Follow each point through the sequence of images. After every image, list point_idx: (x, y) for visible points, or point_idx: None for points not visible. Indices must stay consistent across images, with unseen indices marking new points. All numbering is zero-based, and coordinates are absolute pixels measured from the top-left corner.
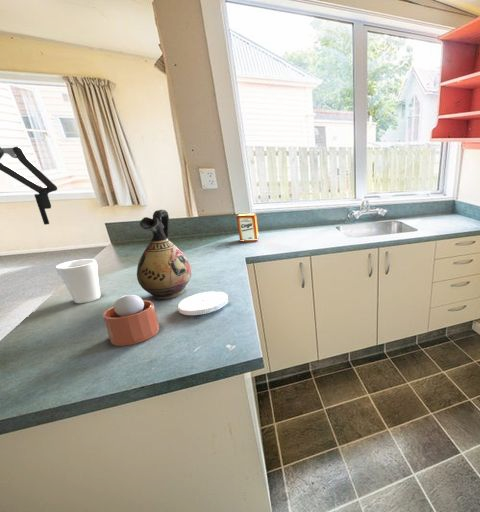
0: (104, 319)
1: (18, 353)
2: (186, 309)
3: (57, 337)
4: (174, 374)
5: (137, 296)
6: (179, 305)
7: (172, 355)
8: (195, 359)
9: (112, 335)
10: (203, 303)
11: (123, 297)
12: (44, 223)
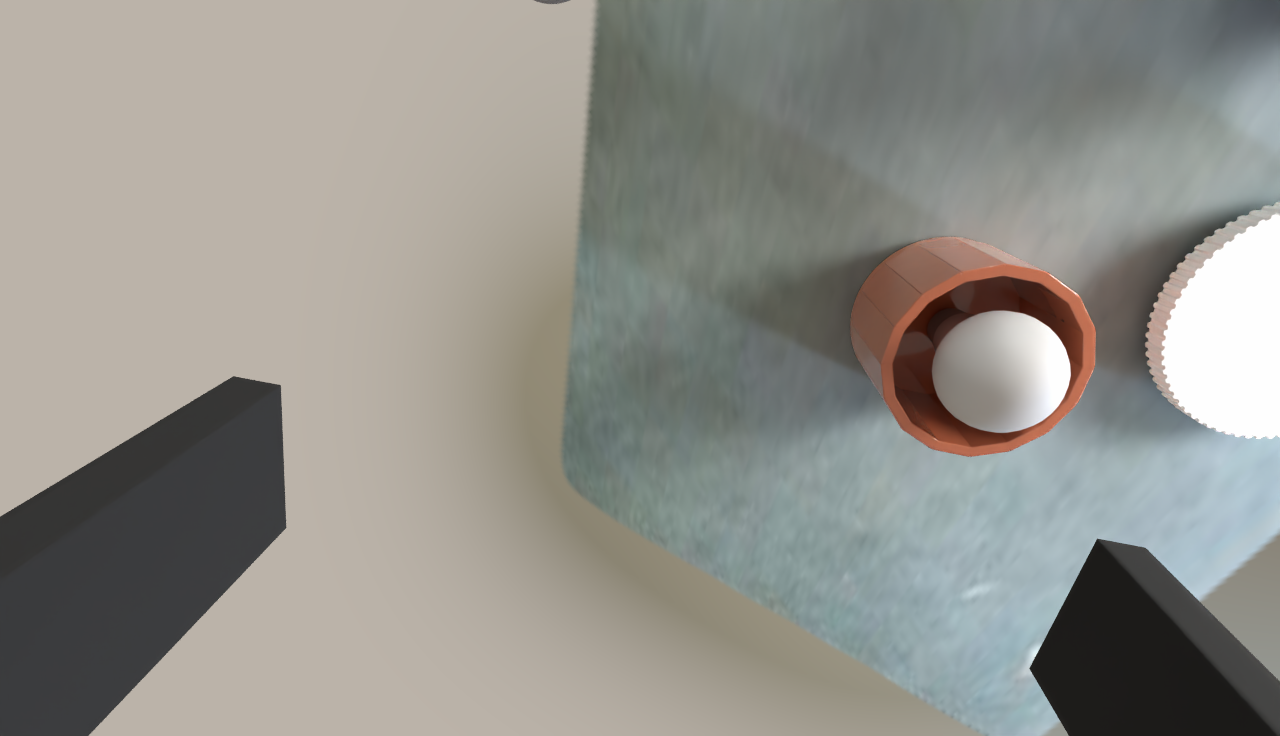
0: (878, 364)
1: (623, 78)
2: (1172, 359)
3: (751, 40)
4: (860, 646)
5: (1059, 400)
6: (1197, 281)
7: (914, 562)
8: (935, 633)
9: (861, 361)
10: (1263, 363)
11: (1006, 399)
12: (1041, 677)
